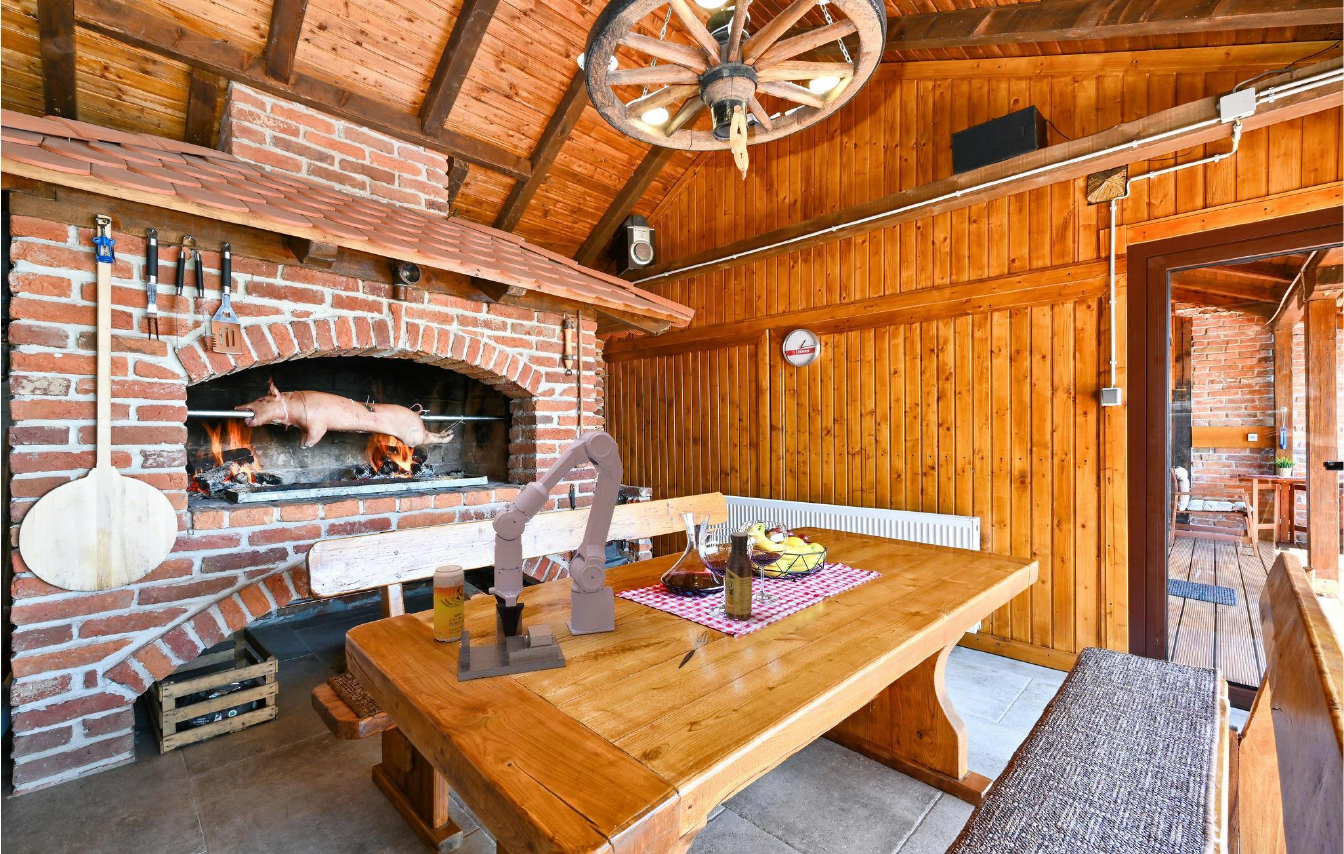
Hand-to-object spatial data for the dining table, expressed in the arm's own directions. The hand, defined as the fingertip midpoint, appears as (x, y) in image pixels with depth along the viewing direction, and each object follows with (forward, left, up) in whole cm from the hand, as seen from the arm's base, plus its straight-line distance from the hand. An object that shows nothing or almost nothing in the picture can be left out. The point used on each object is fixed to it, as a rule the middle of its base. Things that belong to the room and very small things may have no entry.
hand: (508, 630), depth 127 cm
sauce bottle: (-52, +4, -2) cm, 52 cm away
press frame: (0, +12, -2) cm, 12 cm away
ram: (-5, +12, 0) cm, 13 cm away
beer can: (+12, -5, -2) cm, 13 cm away
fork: (-34, +20, -2) cm, 40 cm away
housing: (0, 0, -2) cm, 2 cm away
